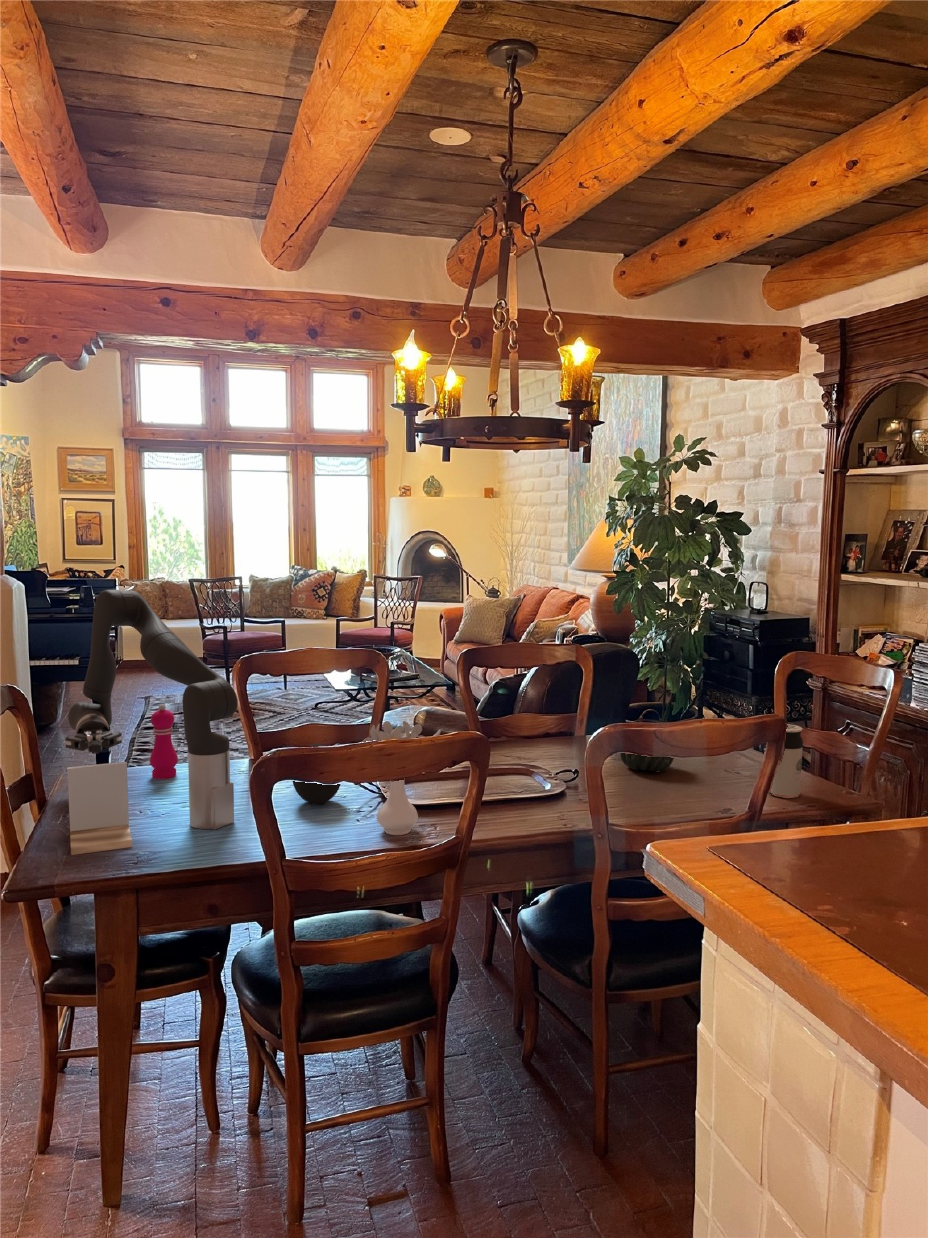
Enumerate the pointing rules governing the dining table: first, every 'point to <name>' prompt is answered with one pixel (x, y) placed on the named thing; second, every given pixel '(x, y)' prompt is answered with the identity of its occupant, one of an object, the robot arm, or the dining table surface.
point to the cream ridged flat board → (100, 839)
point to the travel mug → (790, 764)
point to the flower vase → (396, 784)
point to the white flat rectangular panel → (98, 796)
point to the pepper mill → (163, 745)
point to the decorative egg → (315, 790)
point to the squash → (646, 761)
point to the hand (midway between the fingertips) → (95, 749)
